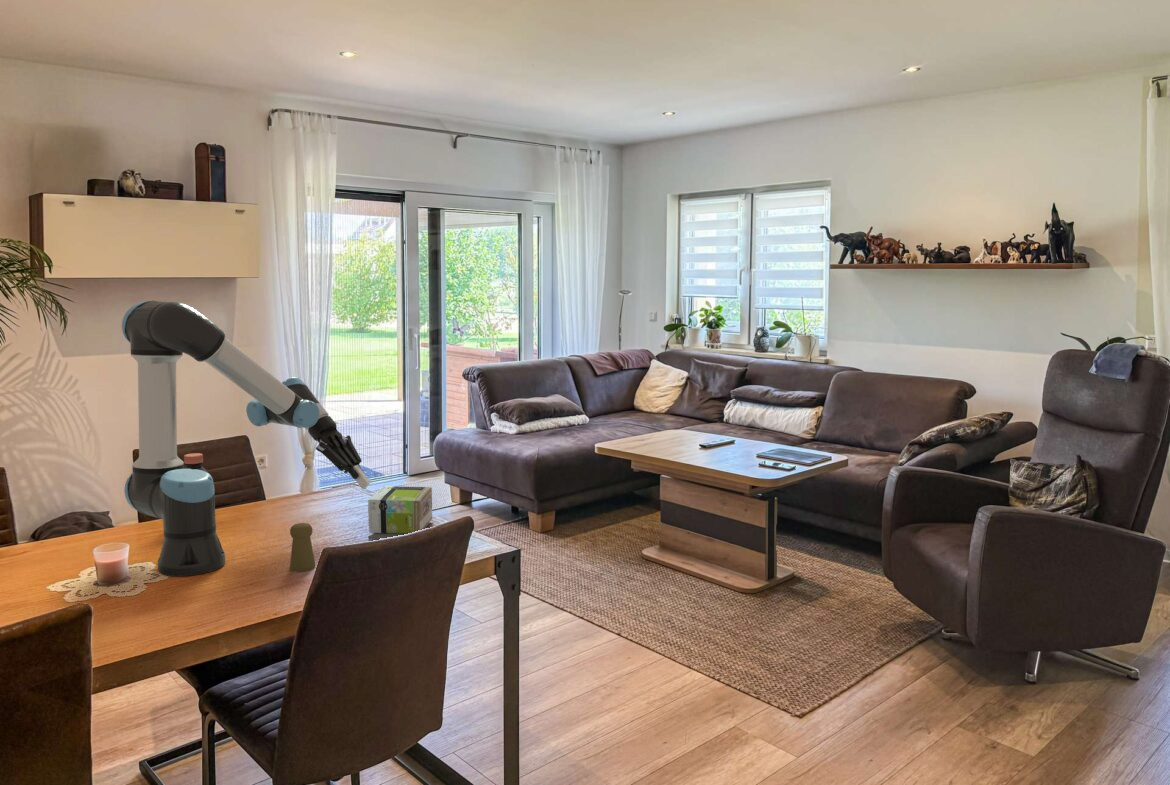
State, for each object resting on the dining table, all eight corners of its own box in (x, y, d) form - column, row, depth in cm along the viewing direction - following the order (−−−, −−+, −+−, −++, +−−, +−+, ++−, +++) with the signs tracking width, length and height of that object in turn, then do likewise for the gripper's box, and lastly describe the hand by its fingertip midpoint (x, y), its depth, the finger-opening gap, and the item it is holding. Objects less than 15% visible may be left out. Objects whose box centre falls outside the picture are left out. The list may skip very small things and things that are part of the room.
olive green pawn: (288, 572, 206) (287, 528, 204) (290, 564, 211) (288, 521, 210) (315, 570, 207) (313, 526, 206) (316, 562, 213) (314, 519, 212)
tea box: (368, 534, 235) (421, 535, 234) (366, 499, 234) (420, 499, 233) (384, 518, 250) (434, 519, 249) (382, 485, 249) (432, 485, 248)
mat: (398, 543, 229) (398, 540, 229) (368, 538, 233) (368, 536, 233) (428, 529, 242) (428, 527, 242) (399, 524, 246) (399, 522, 246)
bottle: (214, 519, 250) (210, 452, 247) (201, 526, 243) (198, 457, 241) (192, 518, 251) (188, 452, 248) (179, 525, 244) (175, 456, 241)
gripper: (326, 427, 252) (374, 488, 248) (295, 435, 240) (344, 499, 236) (340, 411, 249) (388, 472, 245) (309, 417, 237) (359, 482, 233)
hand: (366, 485), depth 240 cm, fingers closed
